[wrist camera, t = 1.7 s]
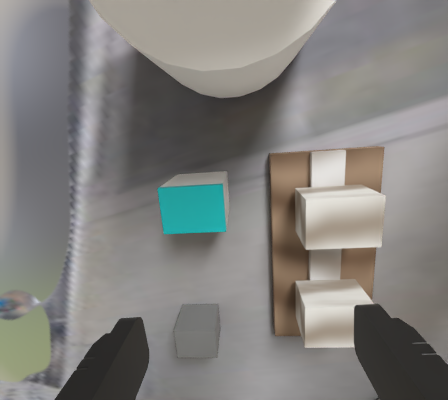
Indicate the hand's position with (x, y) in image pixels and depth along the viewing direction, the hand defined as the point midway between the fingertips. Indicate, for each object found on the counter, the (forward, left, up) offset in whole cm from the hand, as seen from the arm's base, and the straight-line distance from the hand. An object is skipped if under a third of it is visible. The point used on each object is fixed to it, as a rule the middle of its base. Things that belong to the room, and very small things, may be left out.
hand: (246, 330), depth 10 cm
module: (0, -5, -23) cm, 23 cm away
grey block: (+18, -7, -23) cm, 29 cm away
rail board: (+8, +9, -23) cm, 26 cm away
